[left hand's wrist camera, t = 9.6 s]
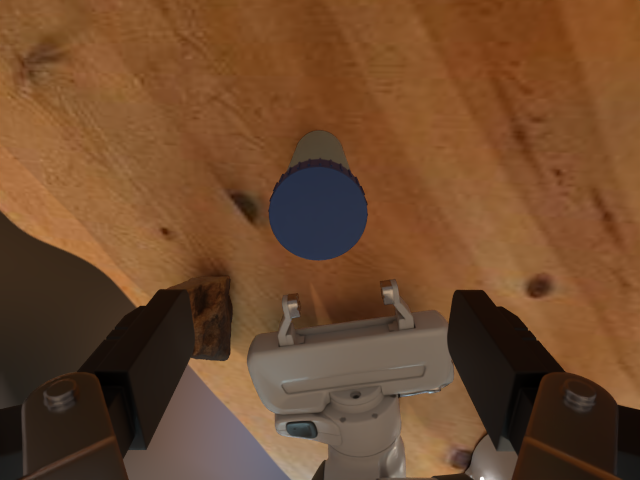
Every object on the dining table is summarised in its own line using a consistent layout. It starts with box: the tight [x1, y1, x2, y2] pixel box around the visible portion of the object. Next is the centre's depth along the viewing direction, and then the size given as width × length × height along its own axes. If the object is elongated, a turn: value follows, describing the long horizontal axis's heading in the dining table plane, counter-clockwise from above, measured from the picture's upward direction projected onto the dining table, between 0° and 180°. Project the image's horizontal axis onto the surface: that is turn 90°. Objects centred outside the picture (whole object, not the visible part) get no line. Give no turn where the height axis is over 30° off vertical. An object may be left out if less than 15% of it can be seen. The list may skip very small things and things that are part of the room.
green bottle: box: [287, 130, 350, 171], centre depth 29 cm, size 5×5×19 cm
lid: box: [269, 158, 368, 260], centre depth 21 cm, size 5×5×2 cm
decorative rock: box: [168, 276, 233, 361], centre depth 39 cm, size 12×6×11 cm, turn 175°
